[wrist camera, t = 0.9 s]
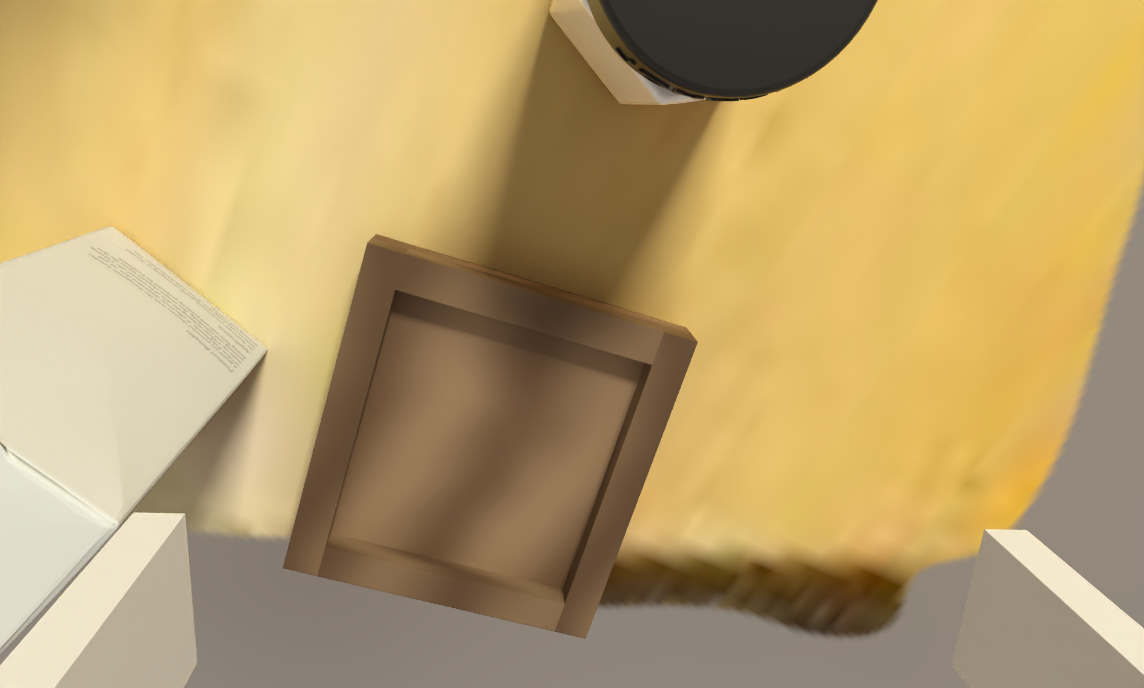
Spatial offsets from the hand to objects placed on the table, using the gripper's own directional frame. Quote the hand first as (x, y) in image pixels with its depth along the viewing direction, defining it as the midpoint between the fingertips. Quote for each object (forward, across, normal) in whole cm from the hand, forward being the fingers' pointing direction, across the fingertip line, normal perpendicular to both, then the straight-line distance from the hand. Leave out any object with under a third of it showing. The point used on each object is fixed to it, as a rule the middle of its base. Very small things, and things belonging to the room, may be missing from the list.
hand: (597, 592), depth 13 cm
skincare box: (+23, -16, -3) cm, 28 cm away
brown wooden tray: (+23, -2, -7) cm, 24 cm away
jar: (+23, +4, +12) cm, 26 cm away
